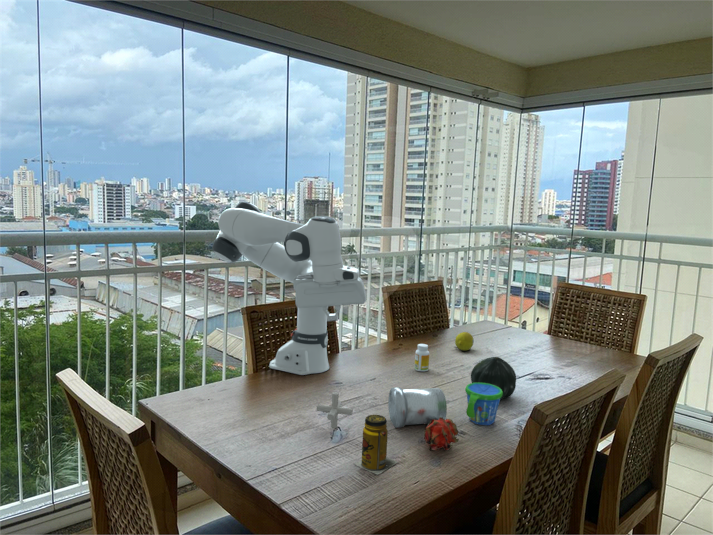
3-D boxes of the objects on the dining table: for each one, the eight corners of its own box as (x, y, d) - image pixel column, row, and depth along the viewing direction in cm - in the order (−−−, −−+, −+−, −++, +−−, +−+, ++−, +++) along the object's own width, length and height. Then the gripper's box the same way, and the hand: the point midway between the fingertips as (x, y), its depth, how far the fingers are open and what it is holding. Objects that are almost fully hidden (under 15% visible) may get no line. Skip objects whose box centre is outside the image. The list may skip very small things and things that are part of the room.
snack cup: (481, 434, 148) (484, 399, 147) (451, 421, 156) (453, 388, 154) (510, 420, 159) (513, 388, 158) (481, 409, 166) (483, 378, 165)
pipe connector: (347, 437, 143) (349, 401, 141) (311, 432, 144) (313, 397, 143) (354, 422, 152) (356, 389, 151) (321, 417, 154) (322, 384, 153)
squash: (490, 368, 190) (478, 343, 181) (528, 382, 180) (518, 355, 171) (470, 400, 184) (457, 375, 175) (509, 415, 174) (497, 390, 165)
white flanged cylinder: (399, 435, 146) (401, 397, 145) (386, 416, 159) (388, 380, 157) (447, 433, 149) (450, 395, 148) (430, 414, 162) (433, 379, 160)
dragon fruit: (453, 445, 144) (431, 467, 135) (431, 421, 147) (408, 442, 138) (470, 428, 139) (449, 450, 130) (447, 404, 142) (424, 424, 133)
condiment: (353, 464, 128) (356, 417, 126) (375, 453, 134) (377, 408, 133) (377, 475, 123) (380, 427, 122) (398, 463, 130) (401, 416, 128)
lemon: (466, 354, 226) (467, 336, 225) (450, 350, 231) (451, 332, 230) (477, 349, 235) (479, 331, 234) (461, 345, 239) (463, 328, 238)
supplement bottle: (430, 368, 204) (431, 344, 203) (425, 372, 199) (427, 347, 198) (416, 366, 206) (418, 342, 205) (412, 370, 201) (414, 345, 200)
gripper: (290, 278, 147) (295, 325, 149) (363, 272, 145) (367, 321, 147) (294, 274, 153) (299, 319, 155) (364, 269, 151) (368, 315, 154)
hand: (332, 320), depth 151 cm, fingers closed
